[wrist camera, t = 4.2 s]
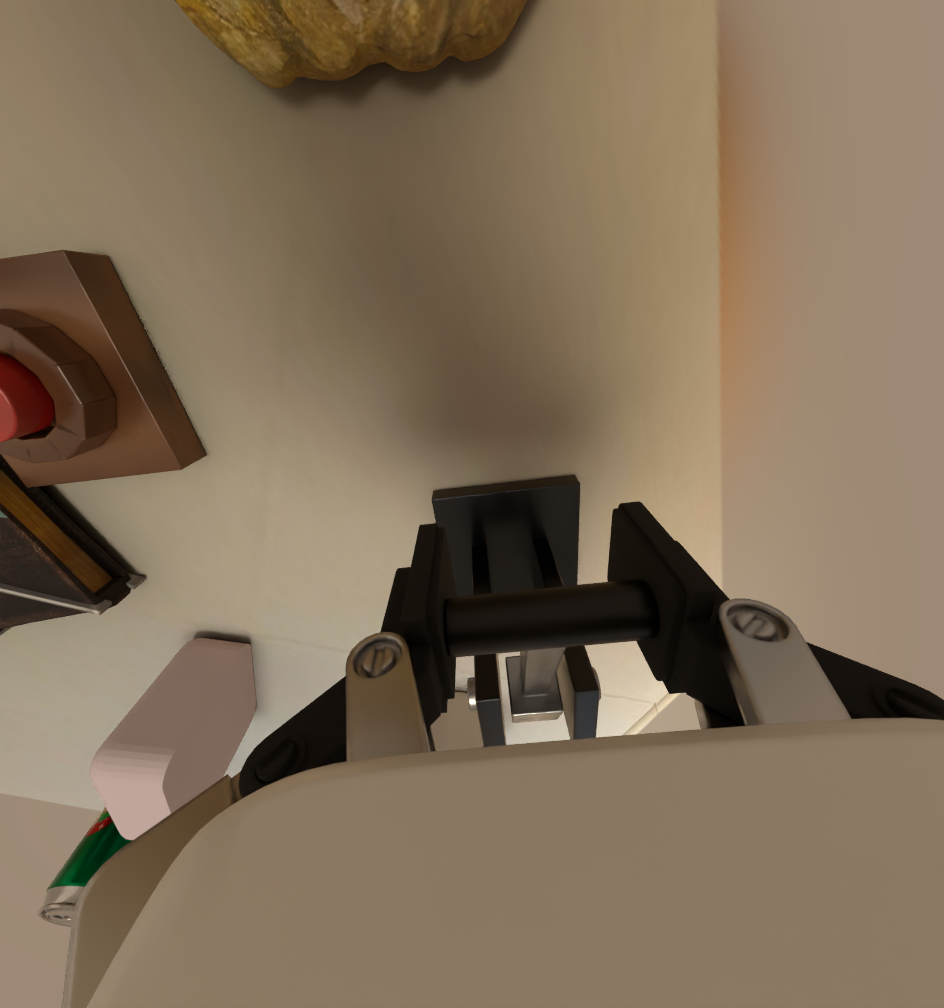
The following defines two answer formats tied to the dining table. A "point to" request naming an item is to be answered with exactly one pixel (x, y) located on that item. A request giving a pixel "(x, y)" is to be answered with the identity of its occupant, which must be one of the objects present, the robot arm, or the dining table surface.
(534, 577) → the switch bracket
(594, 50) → the dining table surface
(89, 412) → the button block
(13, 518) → the book
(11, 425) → the red button
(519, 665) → the switch lever
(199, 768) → the electronic device
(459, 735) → the mug
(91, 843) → the soda can
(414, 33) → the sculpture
